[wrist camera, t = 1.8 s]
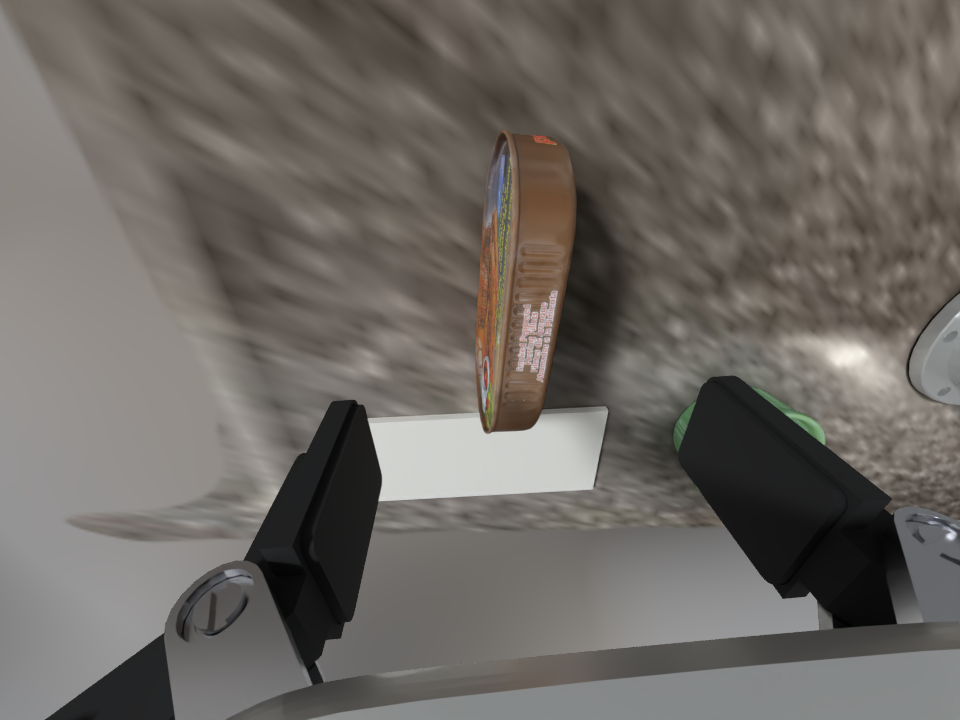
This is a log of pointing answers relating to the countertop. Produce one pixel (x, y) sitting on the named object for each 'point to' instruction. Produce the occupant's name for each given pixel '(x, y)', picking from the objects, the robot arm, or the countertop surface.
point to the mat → (487, 454)
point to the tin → (522, 276)
